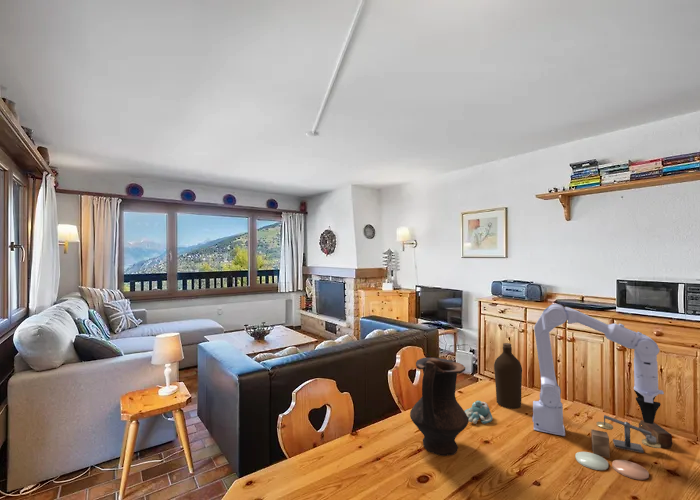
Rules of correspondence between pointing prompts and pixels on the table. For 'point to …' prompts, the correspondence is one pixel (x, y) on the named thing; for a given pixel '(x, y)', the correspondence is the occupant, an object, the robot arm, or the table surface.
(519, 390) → the olive oil
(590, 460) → the sage dish
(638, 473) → the pink disc
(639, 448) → the balance
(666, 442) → the brick
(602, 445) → the walnut block
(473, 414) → the stuffed animal
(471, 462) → the table surface
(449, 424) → the jug
